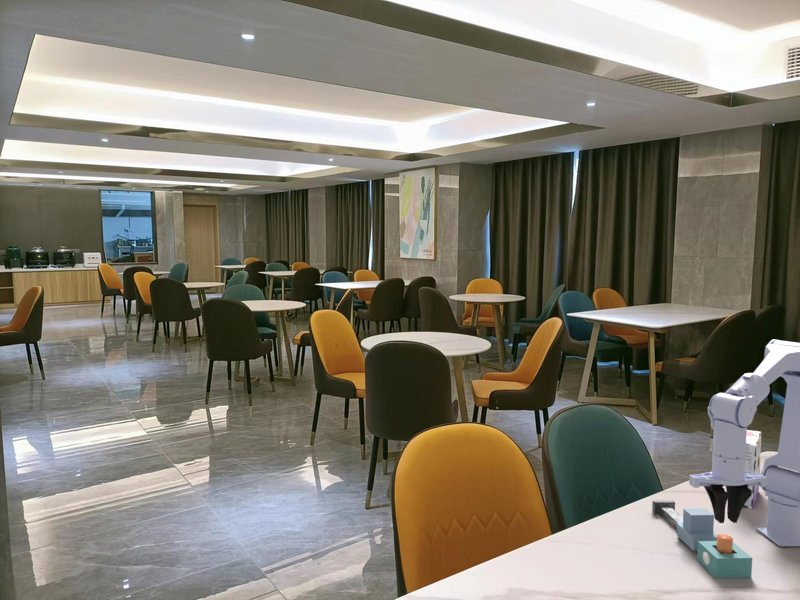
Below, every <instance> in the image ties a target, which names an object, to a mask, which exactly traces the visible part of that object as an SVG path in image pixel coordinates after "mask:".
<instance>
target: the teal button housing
mask: <svg viewBox="0 0 800 600" xmlns="http://www.w3.org/2000/svg"><path fill="white" fill-rule="evenodd" d="M716 548H717V541H698V551H697V553H696V555H697V556H696V557H697V558H696V559H697V560H696V561H698V562H699V563H700V564H701V565H702V566H703V567H704V568H705V569H706V570H707V571H708V572H709V573H710V574H711V575H712V576H713V577H714V578H716V579H746V578H748V579H751V578H752V570H753V569H752V568H753V557H752V556H751V555H750V554H748V553H747V552H745V550H743V549H742V547H740V546H738V545H737V544H736V543H735V542H733V548H732V554H721V553H719V552H718V551H717V550H716Z"/></svg>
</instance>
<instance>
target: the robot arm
mask: <svg viewBox="0 0 800 600" xmlns="http://www.w3.org/2000/svg"><path fill="white" fill-rule="evenodd" d="M780 377H781V378H783V379H784V381H785V382H786V392H785V400H784V407H783V415H782V420H781V428H780V435H779V441H778V443H779V444H778V449H777V453H775V454H773V455H770V456H768V457H766V458H765V459H764V461H763V462H764V463H763V466H762V469H761V471H760V474H751V473H745V455H746V435H747V430H748V427H749V425H751V424H752V422H753V420H754V417H755V414H756V413H757V411H758V408H757V407H758V405H760V403H762V401H764V400H765V398H766V397H767V396H768V395H769V394H770V390H771V388H770V385H771V384H772V383H773V382H775V381H776V380H777V379H778V378H780ZM707 414H708V417H709V420H710V427H711V429H712V430H713V431H712V432H713V434H712V435H713V436H712V437H713V438H712V439H713V440H712V455H711V456H712V459H711V460H712V462H711V464H712V465H711V471H708V472H702V473H696V474H689V479H688V483H689V485H690V486H691V487H693V488H694V489H699V488H700V487H704V490H705V491H706V494H707V496H708V499H710V500H709V501H710V503H711V507H712V511H713V515H714V520H716V522H717V523H719V524H724V523H725V520H726V519H725V518H726V515H727V519H728V520H729V521H730V522H732V523H733V524H737V523H738V519H739V517H740V515H741V511H742V509H743V508H744V507H743V506H744V504H745V503H746V501H747V500H748V499H749V498H750V496H751V495H752V490H750V489H749V488H748V486H759V488H761V490H762V491H764V496H766V497H767V511H766V512H767V513H766V514H767V515H766V527H757V531H758V532H759V533H761V534H762V535H764V537H766V538H768V539H769V540H770V541H772V542H773V543H774V544H775V545H777V546H779V547H800V342H795V341H787V340H781V339H780V340H779V339H771V340H770V341H769V342H768V343H767V345H765V349H764V356H763V360H762V361H761V363H760V364H759V365H758V366H757V367H756V369H755V370H754V371H753V372H747V373H746V372H745V373H744V374H743V375H741V376H740V378H738V379H737V380H736V381H735V382H734V383H733V384H732V385H731V386H730V387H729V388H728V389H727V390H726V391H725V392H719V393H717V394H714V395H713V396H712V397H711V398H710V400H709V404H708V407H707ZM724 487H725V488H724ZM725 489H726V490H725ZM726 511H727V512H726Z"/></svg>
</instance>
